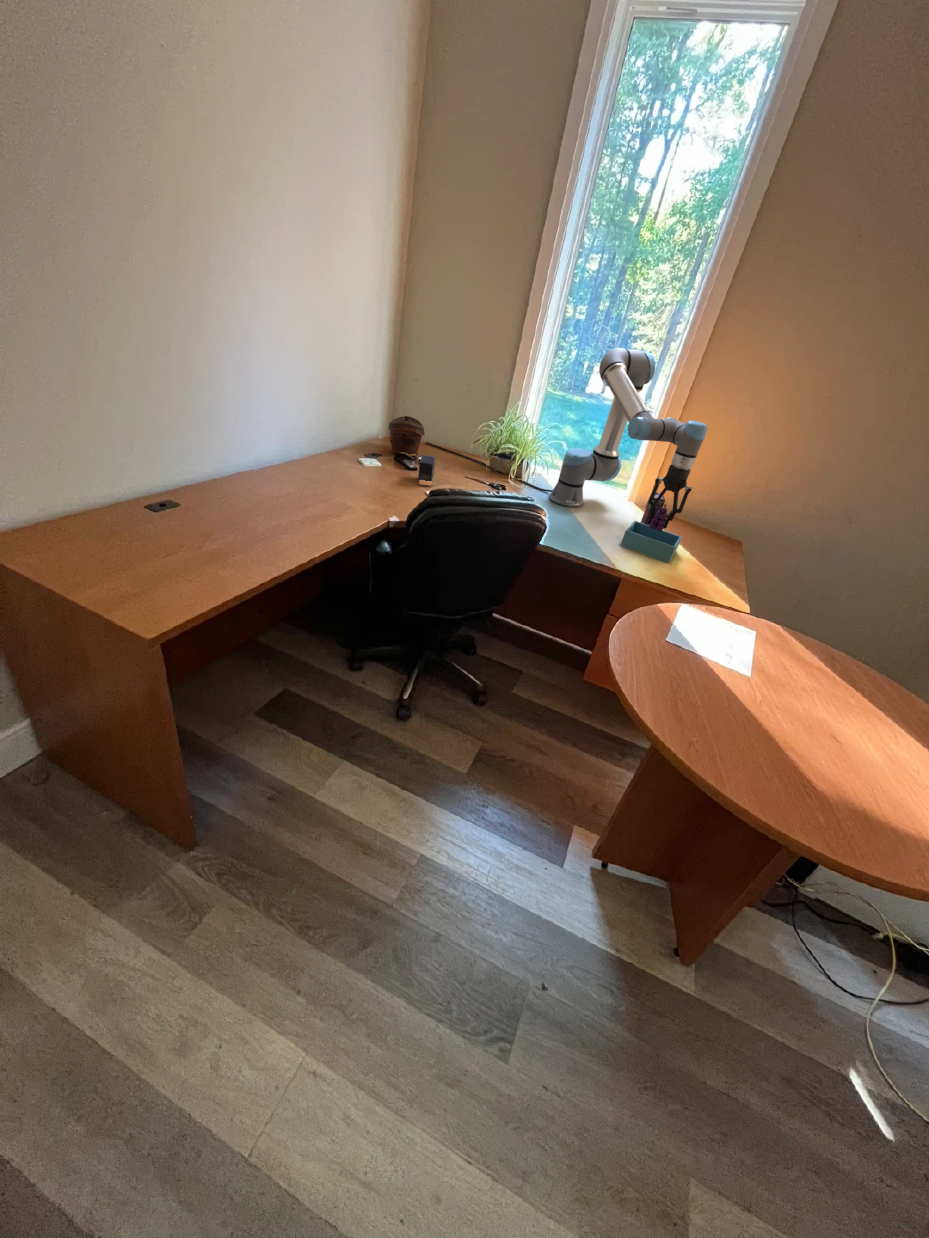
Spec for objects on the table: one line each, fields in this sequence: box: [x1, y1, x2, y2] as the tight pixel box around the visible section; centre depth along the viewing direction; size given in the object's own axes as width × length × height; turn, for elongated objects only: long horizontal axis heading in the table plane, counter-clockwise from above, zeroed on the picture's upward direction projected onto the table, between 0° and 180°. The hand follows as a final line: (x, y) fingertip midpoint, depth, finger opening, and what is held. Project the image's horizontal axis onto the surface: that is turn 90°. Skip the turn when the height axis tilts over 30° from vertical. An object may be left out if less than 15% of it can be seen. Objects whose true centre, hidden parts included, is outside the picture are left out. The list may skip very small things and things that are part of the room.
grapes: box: [649, 503, 669, 532], centre depth 190 cm, size 5×5×11 cm
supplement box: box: [640, 492, 666, 525], centre depth 210 cm, size 9×5×16 cm, turn 168°
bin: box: [620, 520, 683, 564], centre depth 196 cm, size 20×14×7 cm
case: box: [387, 415, 425, 456], centre depth 247 cm, size 18×20×18 cm
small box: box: [417, 455, 436, 481], centre depth 220 cm, size 11×6×10 cm, turn 178°
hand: (657, 524), depth 192 cm, fingers closed on grapes, 5 cm apart
